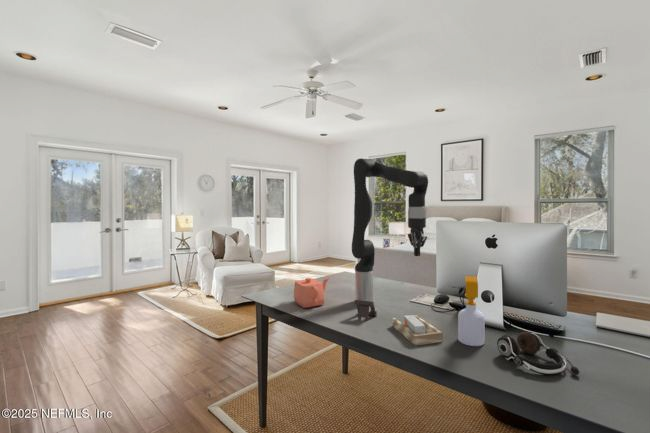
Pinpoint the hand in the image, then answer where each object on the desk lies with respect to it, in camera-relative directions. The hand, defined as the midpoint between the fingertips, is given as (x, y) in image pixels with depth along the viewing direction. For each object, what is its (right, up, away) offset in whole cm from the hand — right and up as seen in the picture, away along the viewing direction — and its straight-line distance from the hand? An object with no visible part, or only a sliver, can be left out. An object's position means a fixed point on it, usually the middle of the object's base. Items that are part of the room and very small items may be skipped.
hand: (417, 255), depth 141 cm
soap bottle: (+14, -30, -21) cm, 39 cm away
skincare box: (-6, -27, -8) cm, 29 cm away
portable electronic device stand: (-22, -30, +6) cm, 37 cm away
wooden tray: (-4, -30, -12) cm, 32 cm away
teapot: (-47, -29, +29) cm, 62 cm away
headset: (+28, -31, -37) cm, 56 cm away
